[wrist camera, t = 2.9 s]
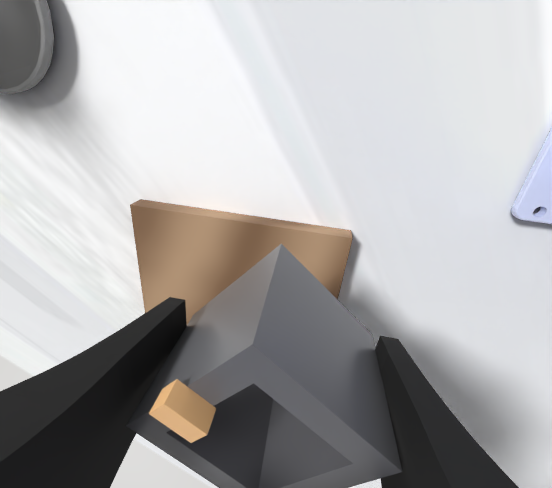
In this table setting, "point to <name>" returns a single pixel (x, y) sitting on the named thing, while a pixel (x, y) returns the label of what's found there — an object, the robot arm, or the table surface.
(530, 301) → the table surface
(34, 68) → the pocket watch
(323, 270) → the board
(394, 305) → the table surface
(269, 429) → the grey hollow cube
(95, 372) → the robot arm
